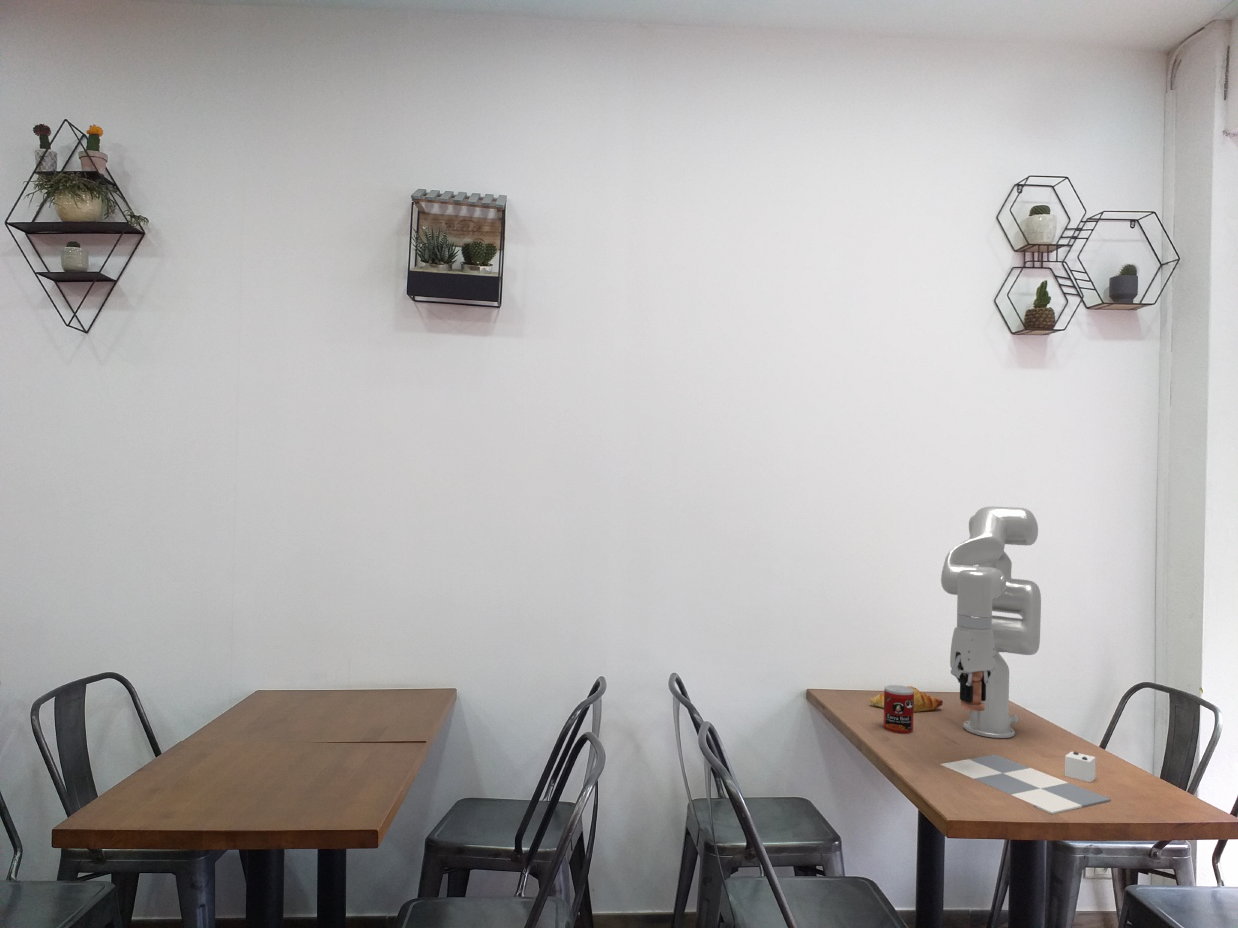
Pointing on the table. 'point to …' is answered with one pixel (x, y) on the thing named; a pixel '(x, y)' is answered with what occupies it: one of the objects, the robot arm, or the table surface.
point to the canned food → (898, 708)
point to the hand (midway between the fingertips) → (972, 699)
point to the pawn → (975, 693)
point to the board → (1027, 784)
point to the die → (1080, 766)
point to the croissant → (920, 701)
